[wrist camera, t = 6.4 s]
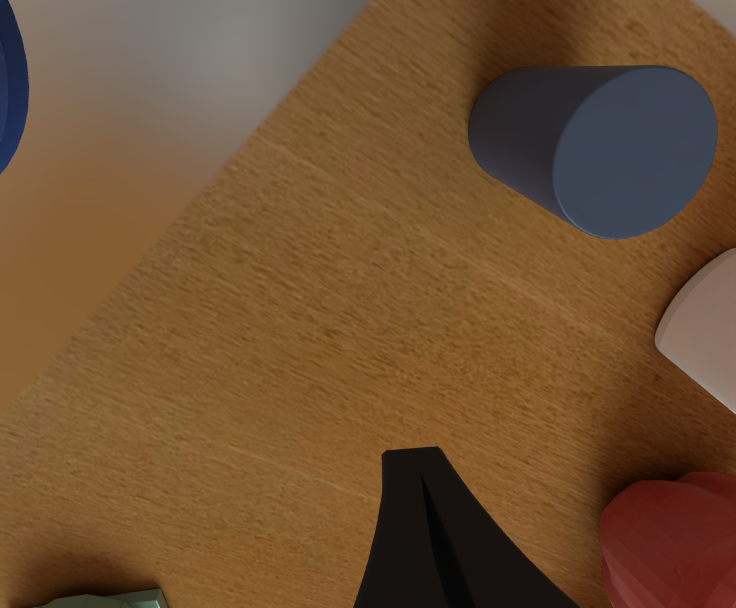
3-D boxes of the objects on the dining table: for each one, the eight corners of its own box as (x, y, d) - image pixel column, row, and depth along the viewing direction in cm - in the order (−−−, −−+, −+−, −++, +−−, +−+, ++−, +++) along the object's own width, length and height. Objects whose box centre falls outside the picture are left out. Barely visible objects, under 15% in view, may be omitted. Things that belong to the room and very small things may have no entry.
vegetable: (689, 389, 25) (904, 573, 16) (796, 478, 28) (1023, 673, 19) (530, 524, 28) (633, 744, 19) (644, 591, 31) (777, 804, 22)
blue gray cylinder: (447, 149, 19) (519, 194, 12) (509, 44, 17) (629, 27, 11) (531, 199, 20) (640, 266, 13) (595, 104, 19) (753, 123, 12)
